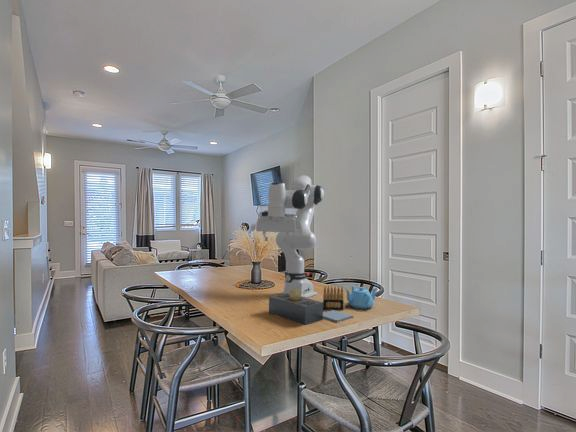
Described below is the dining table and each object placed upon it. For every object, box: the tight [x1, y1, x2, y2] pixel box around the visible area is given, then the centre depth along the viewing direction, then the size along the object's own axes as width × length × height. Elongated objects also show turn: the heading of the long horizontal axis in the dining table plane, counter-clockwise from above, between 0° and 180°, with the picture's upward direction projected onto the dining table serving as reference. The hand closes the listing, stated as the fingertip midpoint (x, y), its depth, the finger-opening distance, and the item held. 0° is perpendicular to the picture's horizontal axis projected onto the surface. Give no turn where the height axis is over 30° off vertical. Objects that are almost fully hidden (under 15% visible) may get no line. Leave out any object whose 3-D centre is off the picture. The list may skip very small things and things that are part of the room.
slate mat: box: [323, 310, 354, 323], centre depth 153 cm, size 12×12×1 cm
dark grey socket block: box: [268, 293, 324, 326], centre depth 153 cm, size 12×24×8 cm, turn 44°
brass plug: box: [289, 289, 301, 301], centre depth 153 cm, size 4×4×8 cm
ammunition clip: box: [322, 285, 345, 311], centre depth 167 cm, size 11×2×12 cm, turn 91°
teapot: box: [344, 284, 378, 310], centre depth 174 cm, size 15×15×10 cm
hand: (275, 241), depth 163 cm, fingers open, 8 cm apart
